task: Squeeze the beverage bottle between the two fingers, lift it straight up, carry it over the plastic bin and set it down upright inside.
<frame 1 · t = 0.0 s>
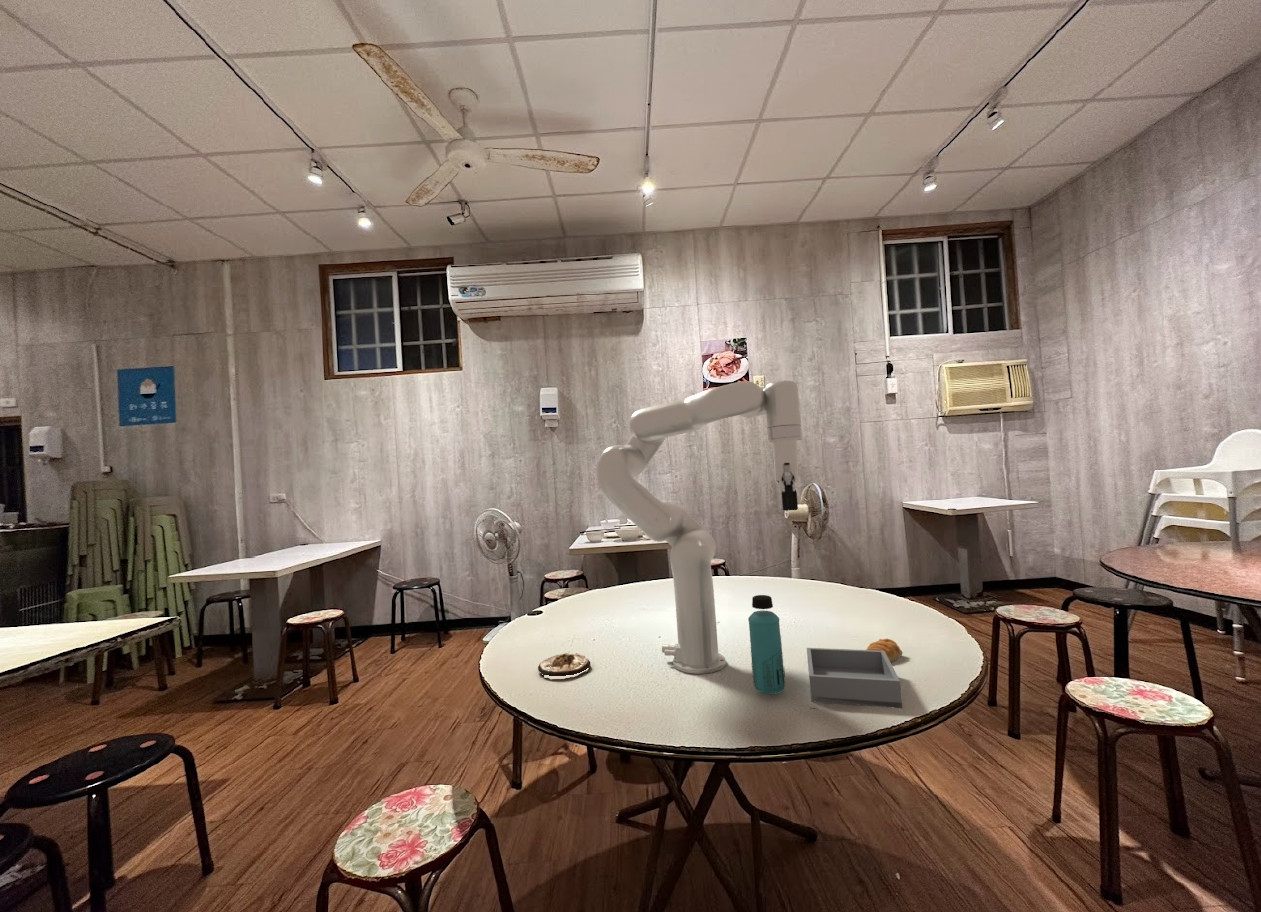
hand: (790, 508, 114), 37 cm above the table, tool pointing down, fingers open, 9 cm apart
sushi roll: (565, 672, 122), on the table
pastry: (883, 659, 116), on the table
beverage bottle: (769, 695, 101), on the table
bin: (850, 687, 102), on the table
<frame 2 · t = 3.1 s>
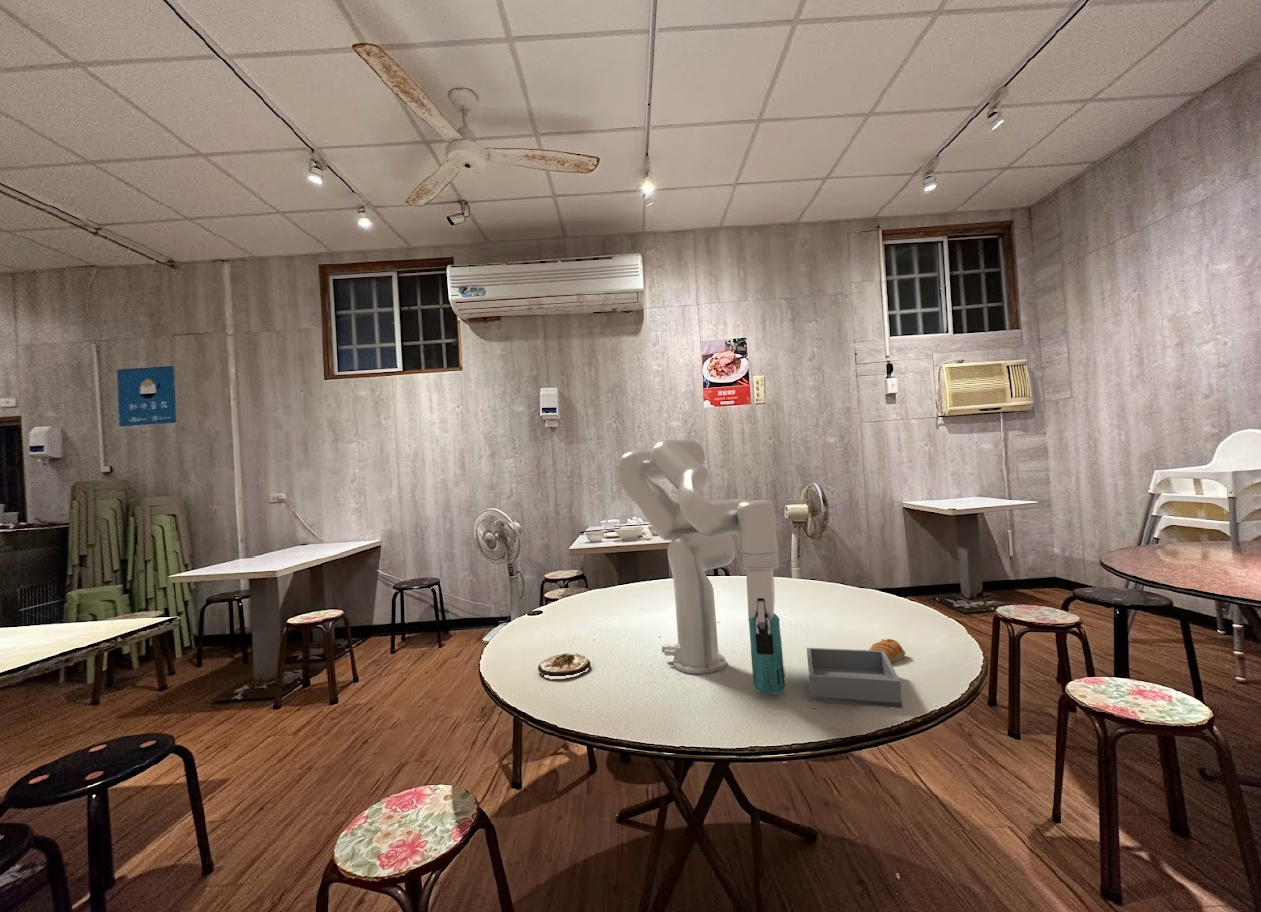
hand: (766, 646, 102), 10 cm above the table, tool pointing down, fingers closed on beverage bottle, 6 cm apart
beverage bottle: (769, 695, 101), on the table, touching gripper
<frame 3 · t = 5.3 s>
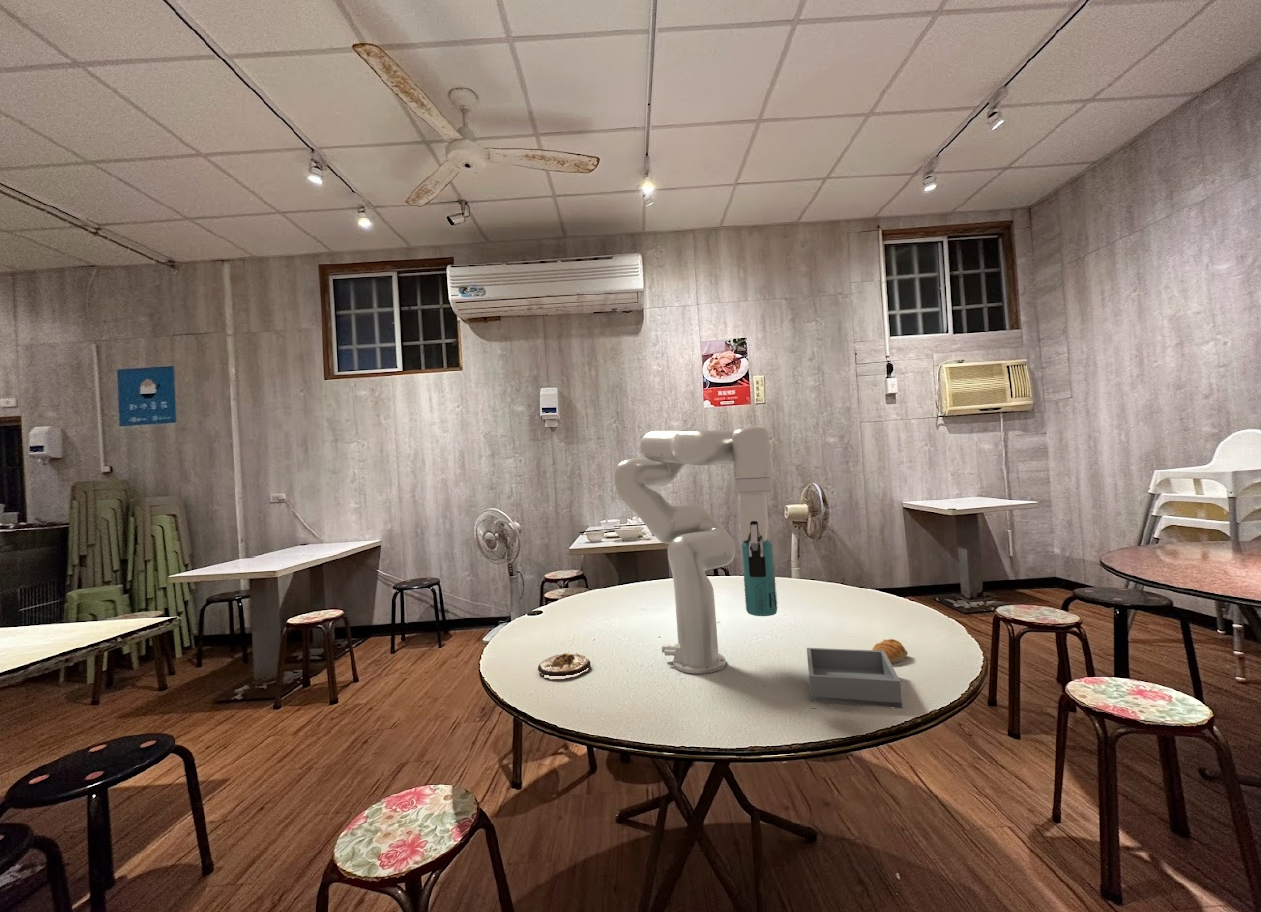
hand: (758, 572, 103), 25 cm above the table, tool pointing down, fingers closed on beverage bottle, 6 cm apart
beverage bottle: (762, 620, 102), point 15 cm above the table, touching gripper
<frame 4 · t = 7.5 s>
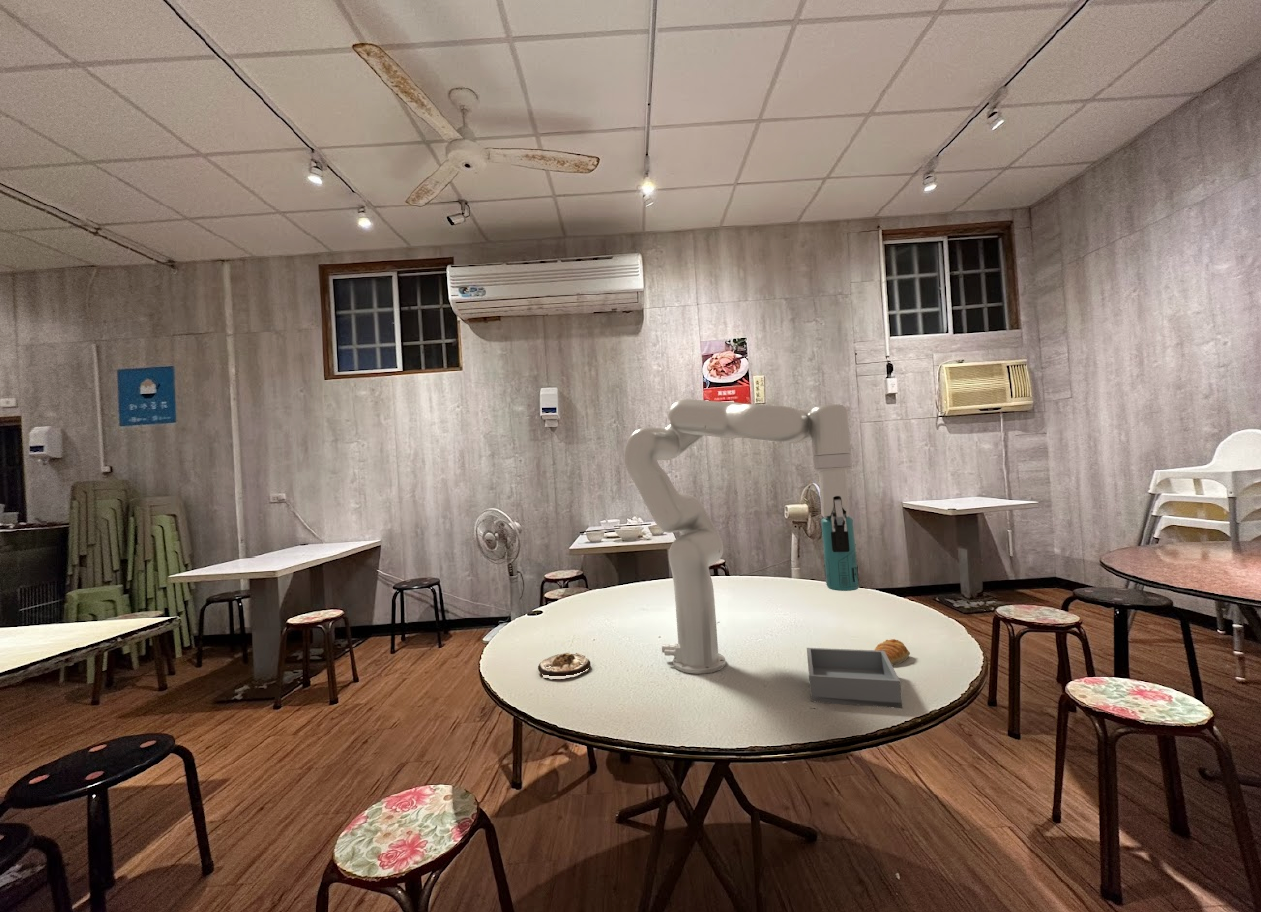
hand: (839, 548, 103), 29 cm above the table, tool pointing down, fingers closed on beverage bottle, 6 cm apart
beverage bottle: (843, 595, 103), point 19 cm above the table, touching gripper
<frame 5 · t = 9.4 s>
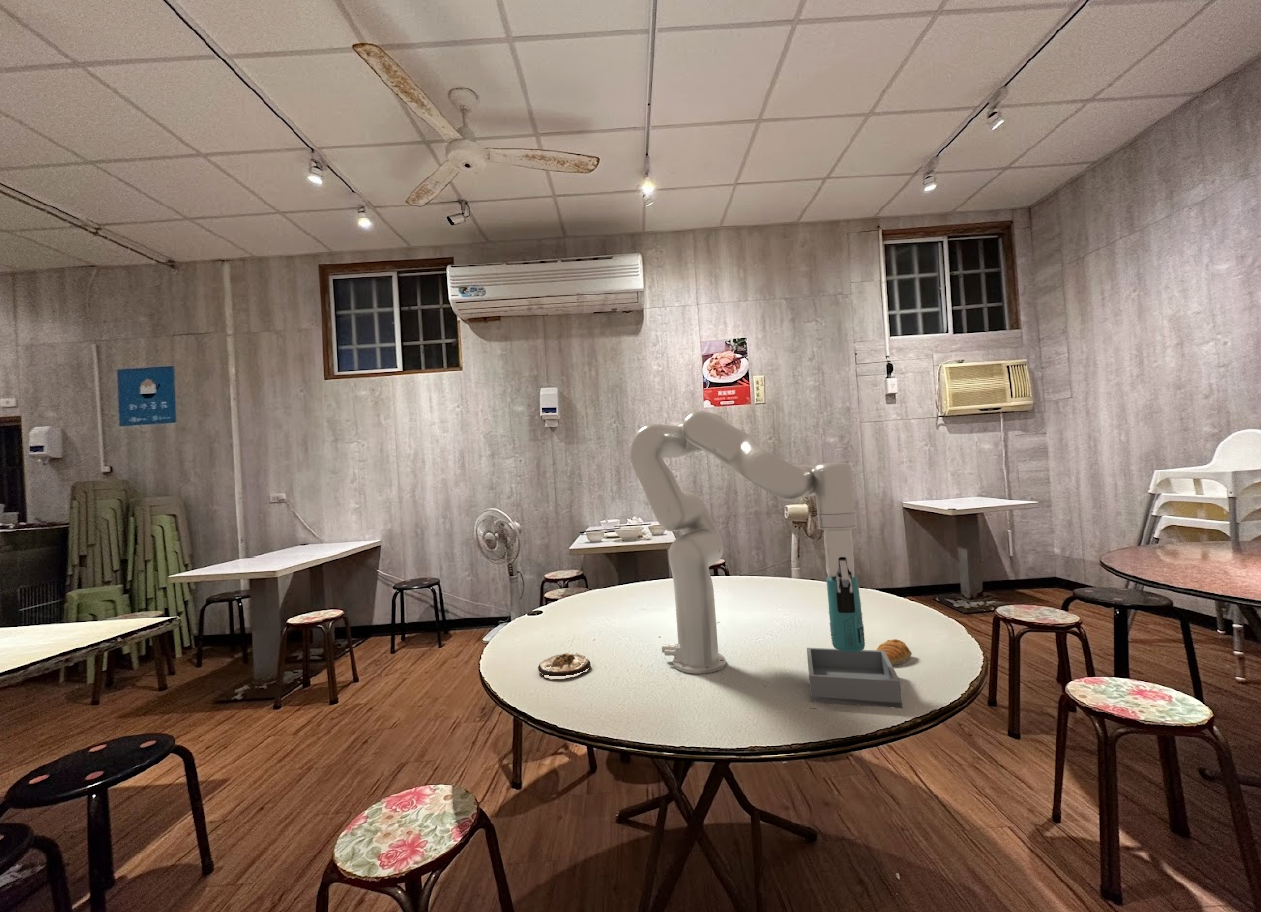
hand: (844, 606, 103), 16 cm above the table, tool pointing down, fingers closed on beverage bottle, 6 cm apart
beverage bottle: (848, 654, 102), point 7 cm above the table, touching gripper
when the fingers open (12 cm above the table, at t = 10.8 s): beverage bottle drops 2 cm, resting on bin.
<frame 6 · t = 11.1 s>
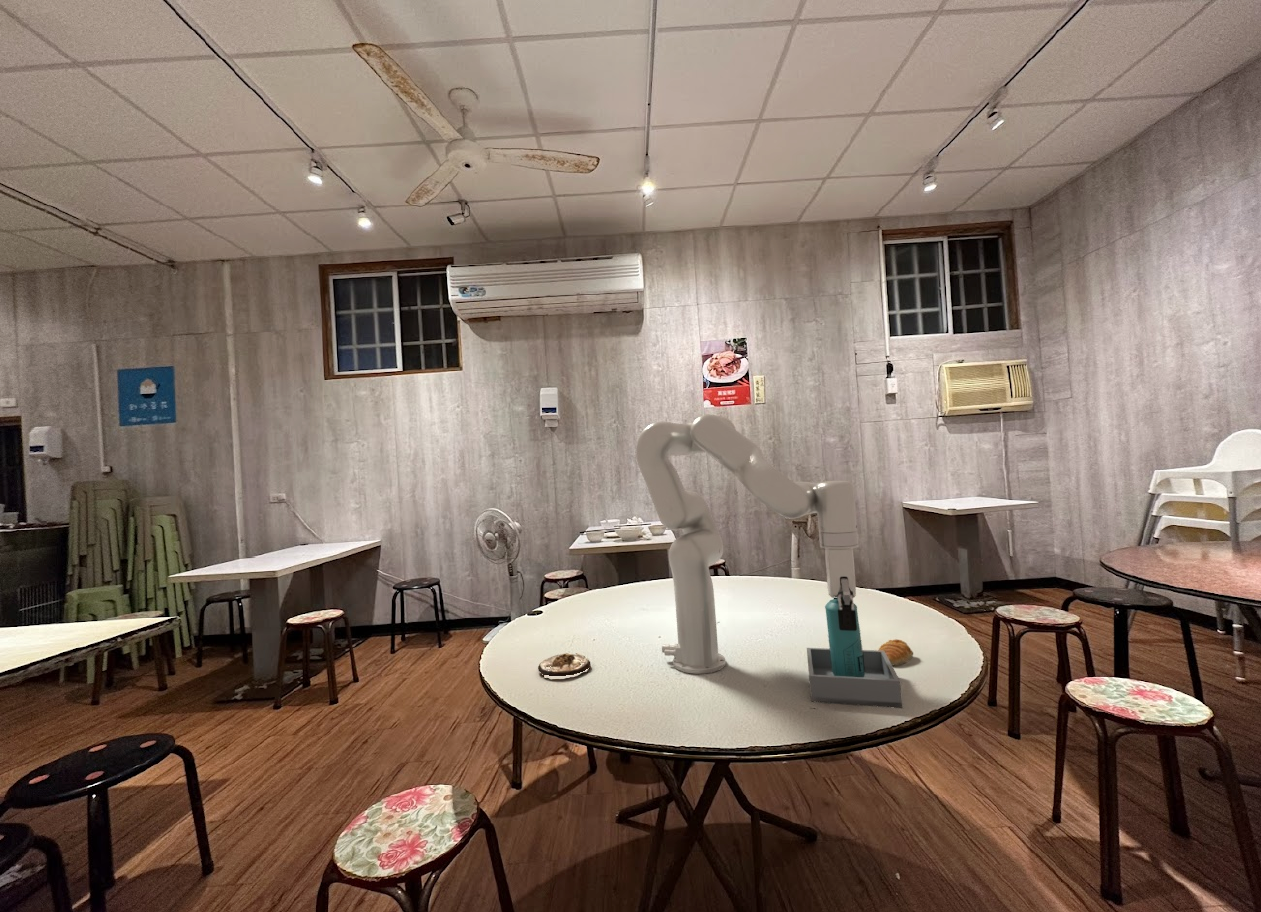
hand: (845, 622, 103), 13 cm above the table, tool pointing down, fingers open, 9 cm apart
beverage bottle: (849, 682, 102), point 1 cm above the table, touching bin
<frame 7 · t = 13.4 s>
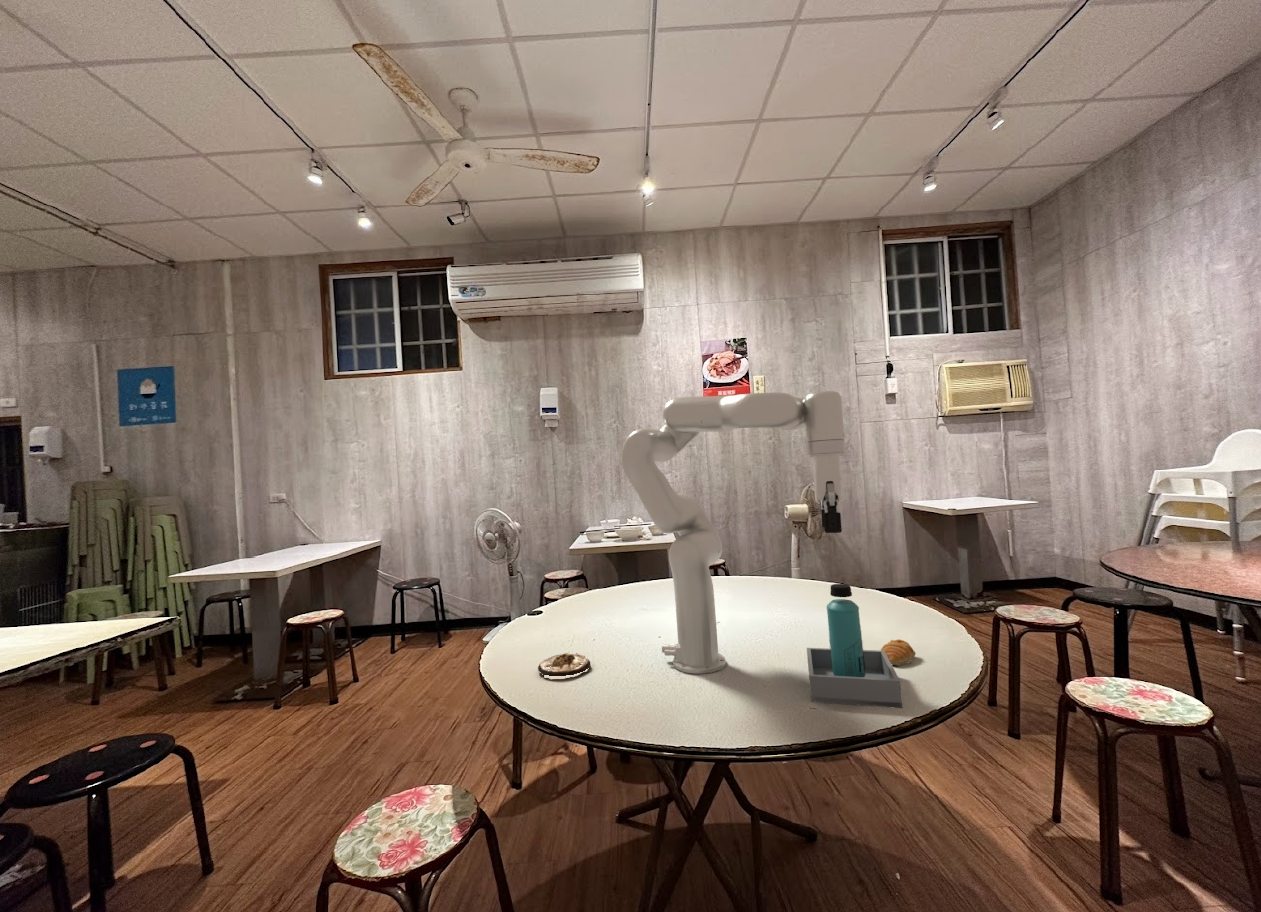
hand: (831, 529, 105), 32 cm above the table, tool pointing down, fingers open, 9 cm apart
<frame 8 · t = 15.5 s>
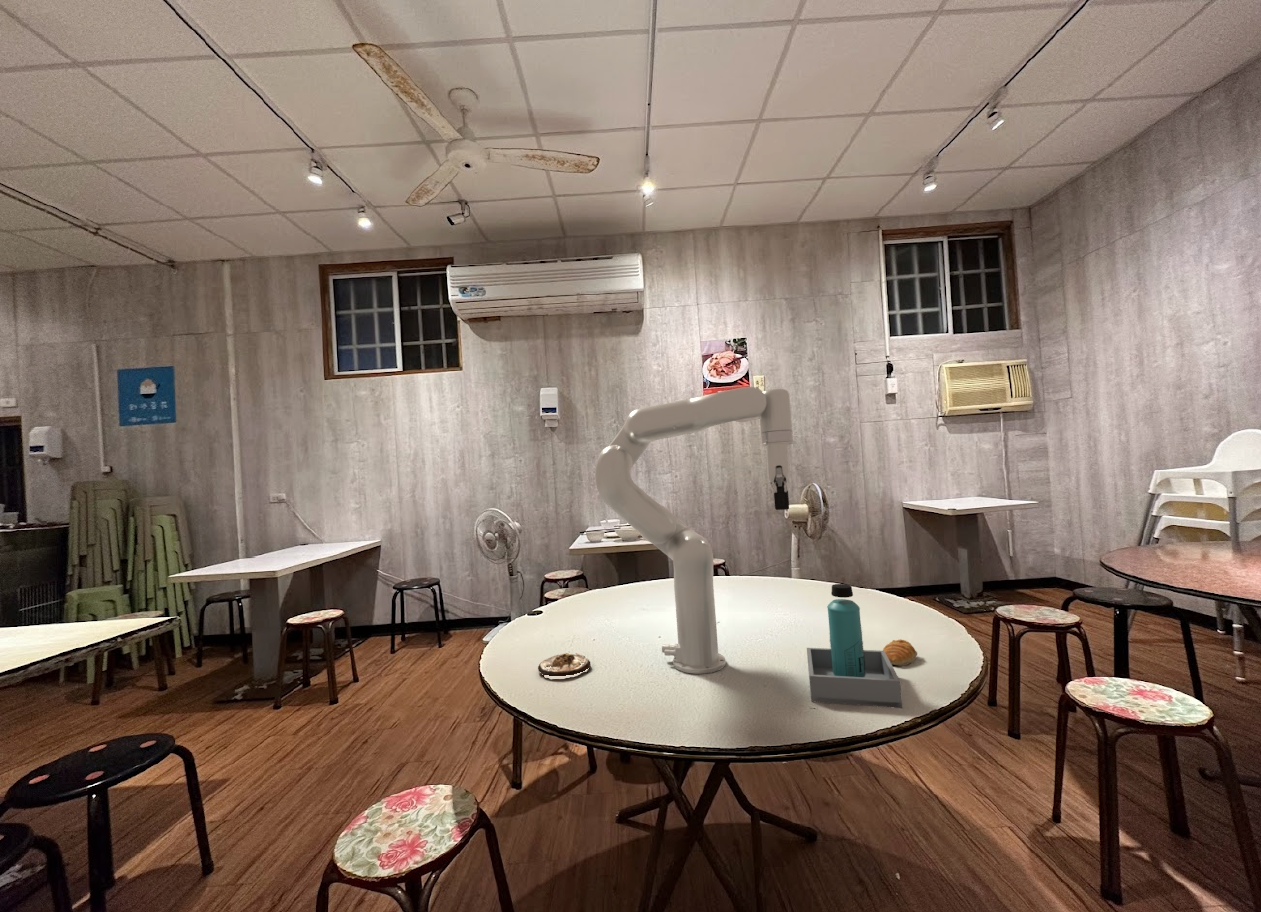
hand: (782, 507, 122), 36 cm above the table, tool pointing down, fingers open, 9 cm apart
at the end: beverage bottle inside the target area on the bin (0.2 cm from its centre), point 0.8 cm above the bin's base; beverage bottle tilted 0°; the gripper is holding nothing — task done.
